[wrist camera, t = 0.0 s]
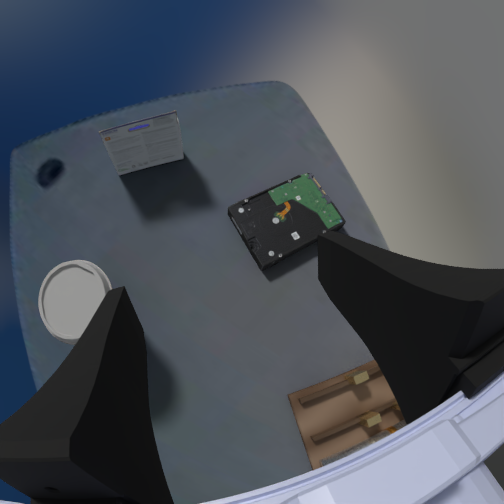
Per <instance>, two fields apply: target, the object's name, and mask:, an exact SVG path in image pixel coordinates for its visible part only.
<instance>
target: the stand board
mask: <svg viewBox="0 0 504 504" xmlns="http://www.w3.org/2000/svg"><path fill="white" fill-rule="evenodd" d="M354 371H367V373H368V376H369V379H368V380H366V381H364V382H362V383H359V384H357V385H352V384H349V381H348V380H345V379H344V376H345V375H347V374H349V373H352V372H354ZM288 398H289V401H290V404H291V407H292V410H293V413H294V416H295V419H296V422H297V425H298V428H299V431H300V434H301V437H302V440H303V443H304V446H305V449H306V452H307V455H308V458H309V461H310V464H311V467H312V470H315V469H318V468H320V463H319V460H320V459H323V458H325V457H328V456H330V455H333V454H335V453H337V452H340V451H342V450H344V449H346V448H349V447H351V446H353V445H355V444H357V443H359V442H361V441H364V440H366V439H368V438H370V437H372V436H374V435H376V434H378V433H380V432H382V431H383V430H384V429H386V428H388V427H390V426H393V425H395V424H397V423H398V422H400V421H402V420H404V417H403V415H402V412H401V410H396V409H391V408H390V406H392V405H393V403H394V402H396V399H395V397H394V395H393V393H392V391H391V389H390V386H389V384H388V382H387V381H386V379H385V377H384V375H383V373H382V371H381V370H380V368H379V366H378V365H377V362H376V361H375V360H373V361H370V362H368V363H366V364H364V365H362V366H359V367H357V368H355V369H352V370H350V371H348V372H345V373H343V374H341V375H338V376H336V377H333V378H331V379H328V380H326V381H323V382H321V383H318V384H316V385H313V386H310V387H308V388H305V389H302V390H299V391H297V392H294V393H291V394H288ZM368 411H371V412H376V413H380V417H381V420H382V421H381V422H379V423H377V424H375V425H373V426H371V427H366V426H363V425H361V424H358V422H360V421H361V420H360V417H362V416H364V415H365V414H364V413H366V412H368ZM369 413H370V412H369ZM360 414H361V415H360ZM363 414H364V415H363ZM366 414H368V413H366Z"/></svg>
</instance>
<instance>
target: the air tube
mask: <svg viewBox="0 0 504 504" xmlns="http://www.w3.org/2000/svg"><path fill="white" fill-rule="evenodd" d="M405 426H407V424H406V422H405V419H404V420H402V421H400V422H398V423H397V424H395V425H393V426H390V427H388V428H386V429H384V430H383V431H382V432H380V433H378V434H376V435H374V436H372V437H370V438H368V439H366V440H364V441H361V442H359V443H357V444H355V445H353V446H351V447H349V448H346V449H344V450H342V451H340V452H337V453H335V454H333V455H330V456H328V457H325V458H323V459H320V460H319V463H320V467H323V466H325V465H328V464H330V463H332V462H335V461H337V460H339V459H342V458H344V457H346V456H348V455H351V454H353V453H355V452H357V451H359V450H361V449H363V448H365V447H367V446H369V445H371V444H373V443H375V442H377V441H379V440H381V439H383V438H385V437H387V436H389V435H390V434H392V433H394V432H396V431H398V430H399V429H401V428H403V427H405Z"/></svg>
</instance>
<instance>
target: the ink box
mask: <svg viewBox="0 0 504 504" xmlns="http://www.w3.org/2000/svg"><path fill="white" fill-rule="evenodd" d="M137 125H141V126H137ZM136 126H137V127H136ZM99 134H100V136H101V137H102V139H103V143H104V145H105V147H106V149H107V151H108V153H109V156H110V158H111V160H112V162H113V164H114V166H115V169H116V171H117V173H118V175H123V174H126V173H130V172H133V171H137V170H141V169H144V168H148V167H152V166H156V165H160V164H164V163H168V162H172V161H176V160H180V159H184V155H183V146H182V137H181V130H180V125H179V121H178V117H177V113H176V110H175V111H172V112H169V113H165V114H161V115H157V116H154V117H149V118H145V119H142V120H138V121H134V122H130V123H127V124H123V125H120V126H116V127H113V128H109V129H106V130H103V131H100V132H99Z"/></svg>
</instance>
